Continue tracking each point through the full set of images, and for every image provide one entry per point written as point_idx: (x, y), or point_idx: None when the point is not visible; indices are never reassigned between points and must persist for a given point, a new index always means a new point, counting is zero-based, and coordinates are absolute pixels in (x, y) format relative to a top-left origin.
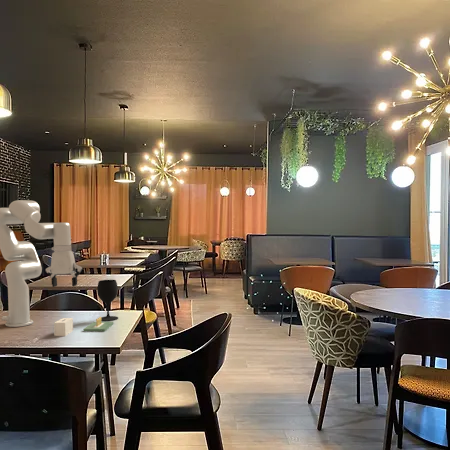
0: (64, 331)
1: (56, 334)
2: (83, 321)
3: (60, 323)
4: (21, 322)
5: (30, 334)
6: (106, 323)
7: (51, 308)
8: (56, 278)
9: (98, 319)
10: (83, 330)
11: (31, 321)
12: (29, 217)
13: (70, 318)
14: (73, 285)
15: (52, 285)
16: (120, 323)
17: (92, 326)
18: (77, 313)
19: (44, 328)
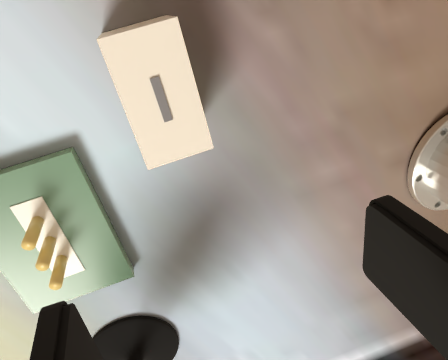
0: (105, 33)
1: (154, 18)
2: (215, 284)
3: (130, 29)
4: (445, 143)
5: (319, 14)
6: (40, 279)
7: (434, 353)
8: (445, 350)
9: (40, 256)
10: (71, 148)
11: (416, 184)
12: None
13: (155, 157)
14: (41, 311)
15: (397, 201)
16: (11, 325)
17: (64, 210)
18: (314, 350)
19: (315, 136)
